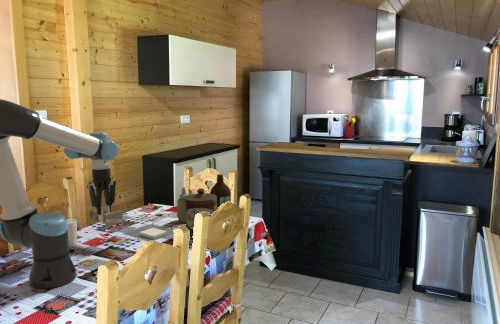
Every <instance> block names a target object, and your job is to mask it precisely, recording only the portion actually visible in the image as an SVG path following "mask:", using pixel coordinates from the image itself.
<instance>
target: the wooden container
mask: <svg viewBox="0 0 500 324" xmlns="http://www.w3.org/2000/svg"><path fill="white" fill-rule="evenodd" d="M188 195H189V196H186V197H185V203H186V223H185V225H186V226H185V227H187V228H188V229H189V230H190V237H191V238H190V239H192V236H193V227H194V217H195V214H197V213H199V212H201V211H207V212H209V213H210V215H211V214H212V213H213V212H214V211H216V210H217V196H216V195H214V194H210V193H206V191H205V189H204V188H198V189H197V190H196V193H193V194H188Z"/></svg>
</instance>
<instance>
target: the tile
mask: <svg viewBox="0 0 500 324" xmlns="http://www.w3.org/2000/svg"><path fill="white" fill-rule="evenodd" d="M139 234H140V236H144V237H147V238H151V239H156V238H159V237H162V236H165V235H167V231H163V230H159V229H156V228H151V229H148V230H145V231H141V232H139ZM165 237H166V236H165ZM162 238H163V237H162ZM159 239H160V238H159ZM156 240H157V239H156Z"/></svg>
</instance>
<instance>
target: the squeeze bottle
mask: <svg viewBox="0 0 500 324" xmlns="http://www.w3.org/2000/svg"><path fill="white" fill-rule="evenodd" d="M186 190H187V189H186V187H185V186H184V187H183V186H182V188H181V193H179V195H178V196H179V198H178V199H177V204H176V205H177V207H176V217H177V220H178V222H179V223H180V224H181V223H182V224H186V203H185V197H186V196H189V195H190V194H189V193H187V191H186Z"/></svg>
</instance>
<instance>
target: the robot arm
mask: <svg viewBox="0 0 500 324" xmlns="http://www.w3.org/2000/svg"><path fill="white" fill-rule="evenodd" d="M11 137H16V138H17V137H18V138H22V139H25V140H31V139H35V140H37V141H38V140H39V141H41V142H45V143H47V144H50V145H51V144H52V145H55V146H57V147H61V148H64V149H63V150H64V154H65V155H66V157H67V158H68V159H71V160H75V159H76V160H77V159H90V161H91V168H92V169H91V175H92V183H91V184H88V185H87V186H86V188H87V189H88V192H89V197H90V202H91V207H94V208H95V209H97V214H98V215H99V221H98V222H99V223H104V215H103V211H105V212H109V213H112V205H113V204H115V201H116V198H115V197H116V185H117V180H113V179H112V178H111V173H112V172H111V168H110V167H111V162H110V161H111V160H114V159H116V157H117V155H118V153H119V152H118V151H119V148H118V145H117V143H116V142H115V141H113V140H109V135H108V133H107V132H104V131H102V132H101V131H99V132H90V133H89V134H88V133H85V132H83V131H80V130H77V129H75V128H72V127H69V126H67V125H64V124H61V123H59V122H56V121H53V120H50V119H48V118H45V117H43V116H41V115H40V113H39V112H37V111H36V110H32V109H31V108H28V107H25V106H22V104H21V105H20V104H18V103H15V102H13V101H10V100H7V99H3V98H1V99H0V205H1V208H2V212H1V213H0V220H1V221H0V236H1V239H3V240H4V241H6V242H7V243H10V244H11V245H13V246H20V247H24V248H27V249H28V248H29V249H31V252H32V264H31V269H30V273H29V277H28V281H29V282H28V283H29V286H30V287H32V288H35V289H41V290H42V289H53V288H54V289H55V288H57V287H62V286H64V285H67V284H69V283H71V282H73V281H74V280H75V279H76V278H77V270H76V267H75V264H74V262H73V260H72V258H71V256H70V245H69V242H68V225H67V221H66V219H67V218H66V217H65V215H63V214H62V213H60V212H55V211H51V212H49V211H43V212H39V211H38V209H37V206H36V205H35V204H34V203H31V202H30V199H29V197H28V194H27V191H26V188H25V186H24V182H23V179H22V178H21V174H20V172H19V171H20V170H19V168H18V166H17V163H16V160H15V157H14V154H13V151H12V148H11V145H10V143H9V140H10V138H11ZM103 195H104V201H105V205H104V206H102V203H103V202H102V201H103V200H102V196H103Z"/></svg>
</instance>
